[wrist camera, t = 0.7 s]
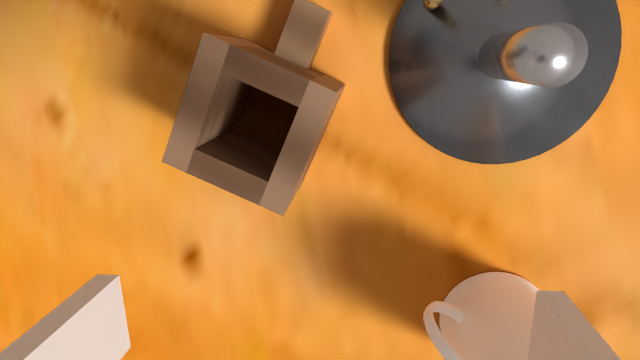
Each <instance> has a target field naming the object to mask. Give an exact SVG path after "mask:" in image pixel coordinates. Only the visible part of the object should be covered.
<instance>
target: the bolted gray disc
mask: <svg viewBox="0 0 640 360" xmlns="http://www.w3.org/2000/svg"><path fill="white" fill-rule="evenodd" d="M621 34H622V31H621V22H620V15H619V11H618V7H617V3H616V0H406V1H405V2H404V4H403V6H402V8H401V10H400V12H399V15H398V17H397V19H396V22H395V26H394V29H393V32H392V36H391V42H390V48H389V73H390V81H391V85H392V89H393V93H394V96H395V98H396V101H397V104H398V106H399V108H400V110H401V112H402V113H403V115H404V117H405V119H406V120H407V121H408V123H409V124H410V125H411V127H412V128H413V129H414V130H415V131H416V132H417V133H418V134H419V136H420V137H421V138H423V139H424V140H425V141H426V142H428V143H429V144H430V145H431V146H433V147H434V148H436V149H438V150H440V151H441V152H443V153H445V154H447V155H450V156H452V157H454V158H457V159H461V160H464V161H468V162H473V163H480V164H504V163H513V162H517V161H521V160H526V159H529V158H531V157H534V156H537V155H540V154H542V153H544V152H546V151H548V150H550V149H552V148H554V147H556V146H557V145H559V144H560V143H562V142H564V141H565V140H567V139H568V138H569V137H570V136H572V135H573V134H574V133H575V132H576V131H578V130H579V129H580V128H581V127H582V126H583V125H584V124H585V123H586V122H587V121H588V120H589V119H590V117H591V116H592V115H593V113H594V112H595V111H596V110H597V108H598V107H599V105H600V104H601V102H602V101H603V99H604V97H605V96H606V94H607V92H608V90H609V88H610V85H611V83H612V81H613V79H614V76H615V72H616V69H617V66H618V62H619V56H620V51H621Z"/></svg>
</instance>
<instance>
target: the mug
mask: <svg viewBox="0 0 640 360" xmlns="http://www.w3.org/2000/svg"><path fill="white" fill-rule="evenodd" d="M537 290H538V291H540V290H539V289H538V288H537V287H536V286H535V285H533V284H532V283H531V282H529V281H528V280H526V279H524V278H522V277H520V276H517V275H514V274H510V273H505V272H487V273H481V274H478V275H475V276H472V277H469V278H467V279H465V280H464V281H462V282H461V283H459V284H458V285H457V286H455V287H454V288H453V289H452V290H451V291H450V293H449V294H448V295H447V297H446V298H445V300H444V302H443V301H434V302H431V303H430V304H429V305H428V306H427V307H426V309H425V311H424V315H423V319H424V325H425V328H426V330H427V333H428V335H429V337H430V338H431V340H432V342H433V344H434V345H435V347H436V348H437V349H438V351H439V352H440V354H441V355H442V356H443V357H444V359H445V360H527V359H528V352H529V344H530V337H531V330H532V322H533V315H534V307H535V300H536V293H537ZM433 312H439V313H440V316H439V324H440V330H441V331H440V330H439V328H438V326H437V324H436V322H435V319H434V316H433Z"/></svg>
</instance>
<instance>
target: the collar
mask: <svg viewBox="0 0 640 360" xmlns="http://www.w3.org/2000/svg"><path fill="white" fill-rule="evenodd" d="M331 16H332V13H331V12H330V11H329V10H326V9H324V8H322V7H320V6H318V5H315V4H313V3H311V2H309V1H306V0H294V3H293V5H292V8H291V11H290V13H289V16H288V19H287V21H286V24H285V27H284V29H283V32H282V34H281V37H280V40H279V42H278V45H277V48H276V50H275V52H273V51H271V50H268V49H266V48H264V47H262V46H260V45H257V44H255V43H253V42H251V41H248V40H246V39H242V38H236V37H229V36H223V35H216V34H210V33H204V32H203V35H202V38H201V41H200V44H199V47H198V51H197V54H196V57H195V60H194V63H193V66H192V69H191V72H190V75H189V79H188V82H187V85H186V88H185V91H184V94H183V97H182V100H181V103H180V107H179V110H178V113H177V116H176V119H175V122H174V125H173V128H172V131H171V135H170V138H169V141H168V144H167V147H166V150H165V153H164V156H163V160H162V162H164V163H166V164H168V165H170V166H173V167H175V168H177V169H179V170H182V171H184V172H186V173H188V174H190V175H193V176H195V177H197V178H199V179H202V180H204V181H206V182H208V183H211V184H213V185H215V186H217V187H220V188H222V189H224V190H226V191H228V192H231V193H233V194H235V195H237V196H240V197H242V198H244V199H246V200H249V201H251V202H253V203H255V204H258V205H260V206H262V207H264V208H266V209H269V210H271V211H273V212H275V213H278V214H280V215H282V216H283V215H284V214H285V212H286V210H287V208H288V207H289V205H290V203H291V201H292V200H293V198H294V196H295V194H296V193H297V191H298V189H299V187H300V186H301V184H302V182H303V180H304V178H305V176H306V173H307V171H308V169H309V167H310V164H311V162H312V160H313V157H314V155H315V153H316V151H317V148H318V146H319V144H320V141H321V139H322V137H323V135H324V132H325V130H326V128H327V125H328V123H329V121H330V118H331V116H332V114H333V112H334V109H335V107H336V105H337V102H338V100H339V98H340V96H341V93H342V91H343V89H344V86H345V84H344V83H342V82H340V81H338V80H335V79H333V78H331V77H329V76H326V75H324V74H322V73H320V72H317V71H315V70H313V69H311V65H312V63H313V60H314V58H315V55H316V53H317V50H318V48H319V45H320V43H321V41H322V38H323V36H324V33H325V31H326V28H327V26H328V23H329V21H330V18H331ZM251 86H253V87H255V88H257V89H260V90H262V91H264V92H266V93H268V94H271V95H273V96H275V97H277V98H280V99H282V100H284V101H286V102H289V103H291V104H293V105H295V106H297V107H299V108H298V111H297V113H296V116H295V118H294V120H293V123H292V125H291V128H290V130H289V133H288V135H287V138H286V140H285V142H284V145H283V147H282V149H281V148H279V147H277V146H274V145H272V144H270V143H268V142H265V141H263V140H261V139H259V138H257V137H254V136H252V135H250V134H248V133H245V132H243V131H241V130H239V129H236V125H237V122H238V120H239V117H240V114H241V112H242V109H243V106H244V103H245V101H246V98H247V95H248V93H249V90H250V87H251Z"/></svg>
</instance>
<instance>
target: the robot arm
mask: <svg viewBox="0 0 640 360" xmlns="http://www.w3.org/2000/svg"><path fill="white" fill-rule="evenodd" d="M130 347H131V346H130V339H129V333H128V327H127V321H126V315H125V309H124V303H123V297H122V290H121V284H120V278H119V275H101V274H97V275H96V276H94V277H93V278H92V279H91V280H90V281H88V282H87V283H86V284H85V285H83V286H82V287H81V288H80V289H78V290H77V291H76V292H75V293H74V294H72V295H71V296H70V297H69V298H67V299H66V300H65V301H64V302H62V303H61V304H60V305H59V306H58V307H56V308H55V309H54V310H53V311H51V312H50V313H49V314H48V315H46V316H45V317H44V318H43V319H42V320H40V321H39V322H38V323H37V324H35V325H34V326H33V327H32V328H30V329H29V330H28V331H27V332H26V333H24V334H23V335H22V336H21V337H19V338H18V339H17V340H16V341H14V342H13V343H12V344H11V345H9V346H8V347H7V348H6V349H5V350H3V351H2V352H1V353H0V360H120V359H121V358H122V357H123V356H124V354H125V353H126V352H127V351H128V349H129V348H130ZM527 360H621V359H620V358H619V357H618V356H617V355H616V353H615V352H614V351H613V350H612V349H611V347H610V346H609V345H608V344H607V343H606V341H605V340H604V339H603V338H602V337H601V335H600V334H599V333H598V332H597V331H596V329H595V328H594V327H593V326H592V325H591V323H590V322H589V321H588V320H587V319H586V317H585V316H584V315H583V314H582V313H581V311H580V310H579V309H578V308H577V306H576V305H575V304H574V303H573V302H572V300H571V299H570V298H569V297H568V296H567V294H566V293H565V292H564V291H538V290H537V293H536V300H535V307H534V315H533V322H532V330H531V337H530V344H529V352H528V359H527Z"/></svg>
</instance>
